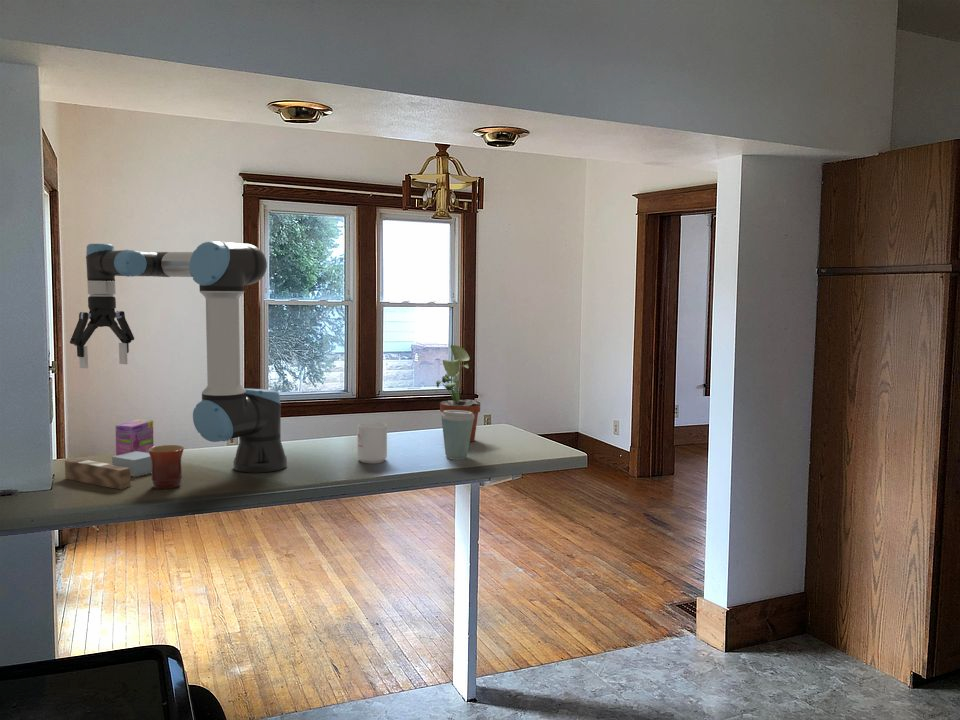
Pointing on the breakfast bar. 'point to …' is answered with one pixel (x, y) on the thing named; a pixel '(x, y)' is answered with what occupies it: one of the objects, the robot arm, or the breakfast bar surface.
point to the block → (134, 462)
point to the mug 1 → (166, 466)
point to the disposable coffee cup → (457, 432)
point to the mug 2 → (372, 442)
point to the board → (97, 473)
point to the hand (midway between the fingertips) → (104, 366)
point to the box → (134, 436)
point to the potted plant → (457, 404)
